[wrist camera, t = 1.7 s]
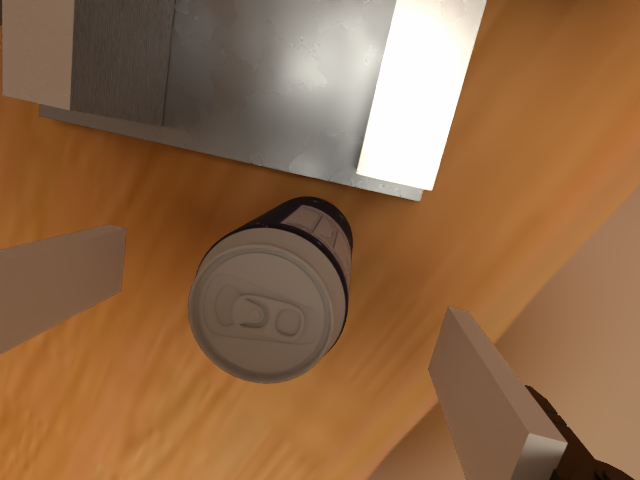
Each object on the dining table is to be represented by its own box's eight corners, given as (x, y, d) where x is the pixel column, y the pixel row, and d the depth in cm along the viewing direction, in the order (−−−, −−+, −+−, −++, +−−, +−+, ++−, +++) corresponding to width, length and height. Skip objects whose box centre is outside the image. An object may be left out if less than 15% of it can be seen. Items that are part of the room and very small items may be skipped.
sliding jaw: (58, -47, 20) (-99, -155, 13) (177, -23, 19) (79, -122, 13) (54, 102, 22) (-85, 76, 15) (162, 126, 21) (70, 110, 15)
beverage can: (275, 186, 23) (187, 213, 11) (362, 206, 22) (366, 256, 11) (260, 268, 24) (166, 370, 12) (341, 288, 24) (325, 413, 12)
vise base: (61, -57, 21) (-123, -191, 13) (466, 22, 19) (540, -74, 12) (55, 118, 23) (-104, 96, 15) (416, 199, 22) (450, 221, 14)
